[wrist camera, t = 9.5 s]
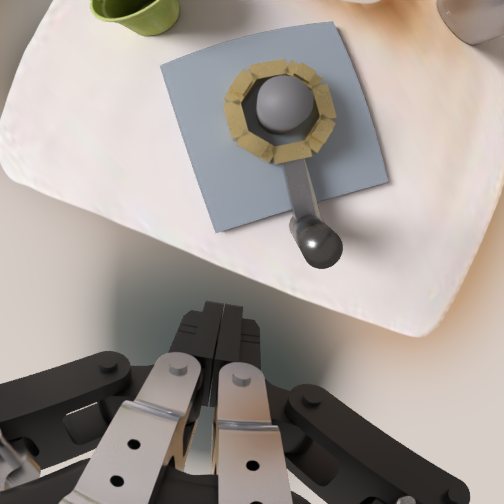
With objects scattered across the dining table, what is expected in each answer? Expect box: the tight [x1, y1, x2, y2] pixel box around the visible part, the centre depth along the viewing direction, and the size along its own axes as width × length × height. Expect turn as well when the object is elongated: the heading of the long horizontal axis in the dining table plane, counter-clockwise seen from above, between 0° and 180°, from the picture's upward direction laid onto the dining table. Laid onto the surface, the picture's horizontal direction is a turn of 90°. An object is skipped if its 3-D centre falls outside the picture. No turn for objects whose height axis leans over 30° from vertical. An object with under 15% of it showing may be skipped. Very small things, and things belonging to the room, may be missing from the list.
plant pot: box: [90, 0, 180, 36], centre depth 19 cm, size 9×9×9 cm
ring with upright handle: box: [223, 59, 343, 269], centre depth 23 cm, size 19×10×8 cm, turn 14°
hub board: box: [160, 21, 388, 233], centre depth 24 cm, size 20×22×8 cm
